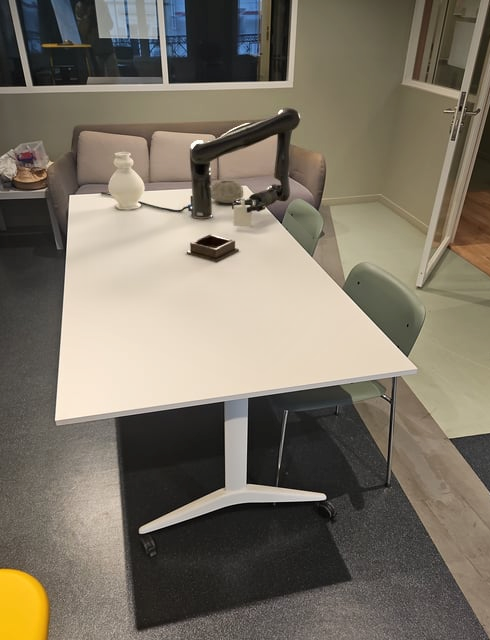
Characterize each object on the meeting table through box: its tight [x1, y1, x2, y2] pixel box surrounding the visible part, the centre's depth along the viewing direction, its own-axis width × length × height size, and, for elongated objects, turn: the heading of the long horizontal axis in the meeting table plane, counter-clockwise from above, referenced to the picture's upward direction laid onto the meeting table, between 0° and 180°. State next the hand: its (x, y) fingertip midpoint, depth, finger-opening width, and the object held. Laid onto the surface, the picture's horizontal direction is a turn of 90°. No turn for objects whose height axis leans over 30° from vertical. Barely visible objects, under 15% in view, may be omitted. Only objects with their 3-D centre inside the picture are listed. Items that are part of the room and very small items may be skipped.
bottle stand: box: [186, 234, 239, 263], centre depth 203 cm, size 15×15×4 cm
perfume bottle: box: [233, 197, 253, 227], centre depth 222 cm, size 8×2×12 cm, turn 90°
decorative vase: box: [107, 151, 146, 211], centre depth 250 cm, size 18×18×25 cm
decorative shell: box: [211, 179, 244, 204], centre depth 264 cm, size 18×18×10 cm
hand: (240, 208), depth 220 cm, fingers closed on perfume bottle, 7 cm apart
